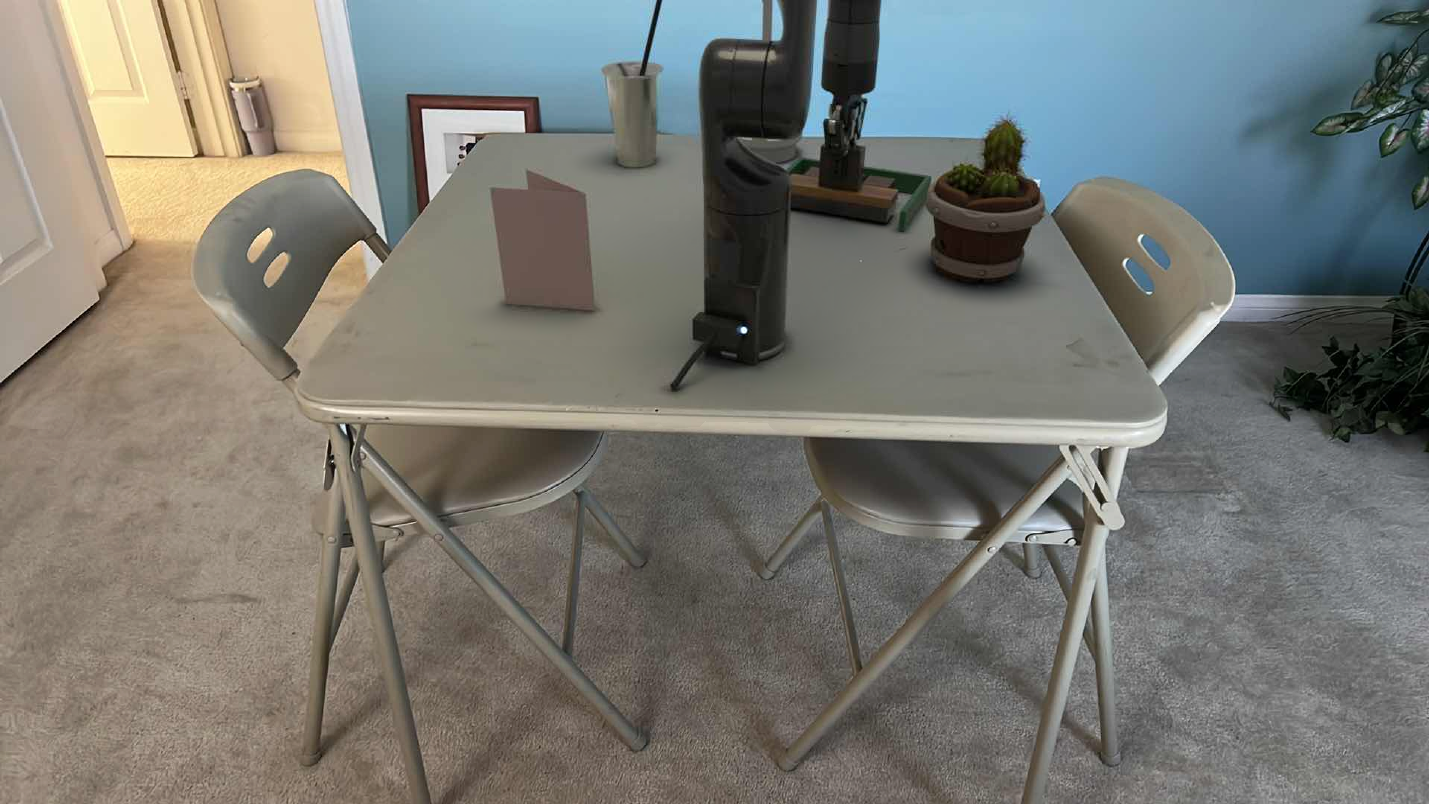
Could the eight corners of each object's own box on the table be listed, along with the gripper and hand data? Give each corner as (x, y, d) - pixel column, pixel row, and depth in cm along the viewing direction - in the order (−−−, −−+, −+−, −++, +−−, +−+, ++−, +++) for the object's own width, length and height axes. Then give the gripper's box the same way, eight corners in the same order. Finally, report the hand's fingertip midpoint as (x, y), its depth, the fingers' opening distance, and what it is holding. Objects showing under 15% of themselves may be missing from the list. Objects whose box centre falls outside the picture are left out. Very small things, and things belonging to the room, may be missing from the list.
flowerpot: (999, 305, 116) (1029, 145, 105) (894, 268, 124) (912, 117, 113) (1052, 267, 125) (1085, 117, 114) (951, 236, 133) (973, 93, 122)
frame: (903, 231, 135) (905, 211, 133) (763, 208, 142) (764, 189, 140) (929, 194, 147) (931, 175, 145) (798, 174, 154) (799, 156, 152)
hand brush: (888, 223, 136) (895, 159, 131) (780, 205, 141) (783, 143, 136) (896, 211, 139) (903, 148, 134) (791, 195, 145) (794, 134, 140)
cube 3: (826, 203, 143) (828, 178, 141) (801, 199, 145) (803, 174, 143) (834, 194, 146) (836, 170, 144) (810, 191, 148) (811, 166, 146)
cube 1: (885, 213, 140) (888, 187, 138) (859, 209, 142) (862, 183, 139) (892, 203, 143) (895, 178, 141) (867, 200, 145) (869, 175, 143)
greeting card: (600, 308, 115) (591, 191, 107) (551, 329, 111) (538, 209, 103) (544, 279, 122) (531, 167, 114) (496, 297, 118) (479, 182, 109)
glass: (675, 150, 164) (670, -37, 148) (666, 172, 155) (660, -25, 138) (614, 148, 165) (603, -38, 148) (602, 170, 156) (588, -26, 139)
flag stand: (811, 162, 159) (821, -31, 142) (736, 168, 156) (738, -27, 140) (789, 138, 169) (797, -44, 153) (719, 143, 167) (719, -41, 151)
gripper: (839, 40, 135) (831, 158, 144) (807, 62, 124) (800, 188, 134) (890, 45, 132) (878, 165, 142) (862, 68, 122) (851, 196, 131)
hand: (840, 175), depth 138 cm, fingers closed on hand brush, 2 cm apart
